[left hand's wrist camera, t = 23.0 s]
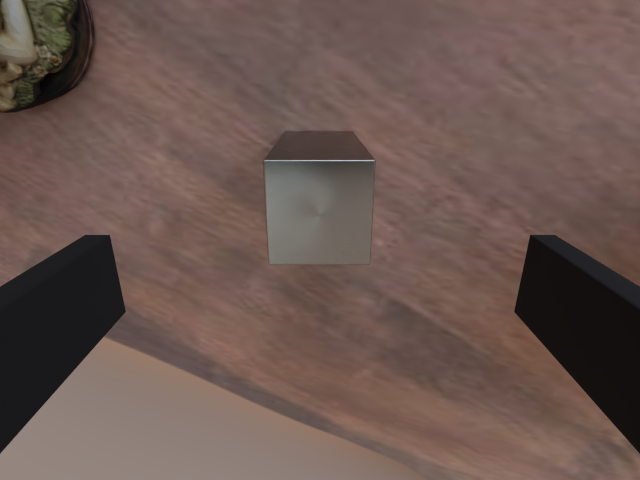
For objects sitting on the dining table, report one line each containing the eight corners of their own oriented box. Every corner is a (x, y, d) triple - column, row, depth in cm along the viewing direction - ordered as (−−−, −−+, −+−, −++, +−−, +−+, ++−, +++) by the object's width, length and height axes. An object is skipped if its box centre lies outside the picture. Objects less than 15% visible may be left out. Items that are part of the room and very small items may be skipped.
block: (351, 199, 29) (370, 264, 18) (286, 199, 29) (268, 265, 18) (353, 131, 27) (375, 159, 17) (284, 131, 27) (262, 159, 17)
